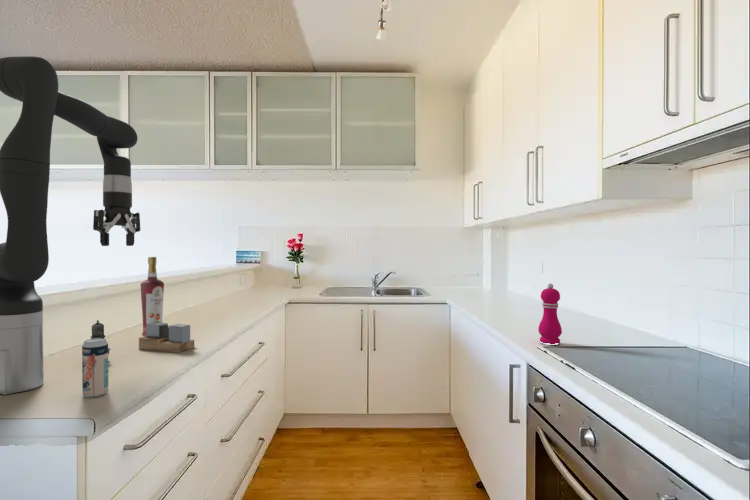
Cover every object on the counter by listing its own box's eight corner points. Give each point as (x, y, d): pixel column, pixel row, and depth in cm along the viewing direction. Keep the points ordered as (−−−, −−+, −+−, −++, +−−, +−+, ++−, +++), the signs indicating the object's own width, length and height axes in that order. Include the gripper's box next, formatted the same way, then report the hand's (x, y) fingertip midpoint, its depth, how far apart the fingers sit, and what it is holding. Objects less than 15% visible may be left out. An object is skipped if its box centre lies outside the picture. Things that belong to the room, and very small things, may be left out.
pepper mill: (533, 342, 150) (534, 282, 149) (551, 340, 152) (552, 282, 151) (548, 347, 143) (548, 284, 142) (566, 345, 145) (567, 284, 145)
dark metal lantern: (98, 367, 118) (98, 322, 118) (80, 365, 120) (79, 321, 119) (115, 361, 124) (115, 318, 124) (97, 360, 125) (97, 317, 125)
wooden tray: (177, 352, 134) (177, 341, 134) (138, 348, 139) (138, 337, 138) (194, 347, 140) (194, 336, 140) (156, 343, 145) (156, 333, 145)
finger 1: (160, 341, 138) (160, 325, 138) (146, 339, 140) (146, 324, 140) (169, 338, 141) (168, 323, 141) (155, 337, 143) (155, 322, 143)
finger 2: (182, 343, 135) (182, 326, 135) (167, 341, 137) (167, 325, 137) (190, 340, 139) (190, 324, 139) (176, 339, 140) (175, 323, 140)
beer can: (80, 394, 97) (79, 340, 97) (105, 389, 100) (104, 336, 100) (85, 400, 94) (84, 343, 93) (111, 395, 97) (110, 340, 97)
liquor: (148, 340, 150) (148, 257, 150) (136, 338, 154) (135, 257, 153) (168, 336, 156) (168, 256, 156) (156, 334, 160) (155, 256, 160)
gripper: (106, 188, 125) (106, 246, 125) (146, 193, 139) (146, 245, 139) (86, 189, 127) (86, 246, 128) (127, 194, 141) (128, 245, 141)
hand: (118, 245), depth 133 cm, fingers open, 8 cm apart
